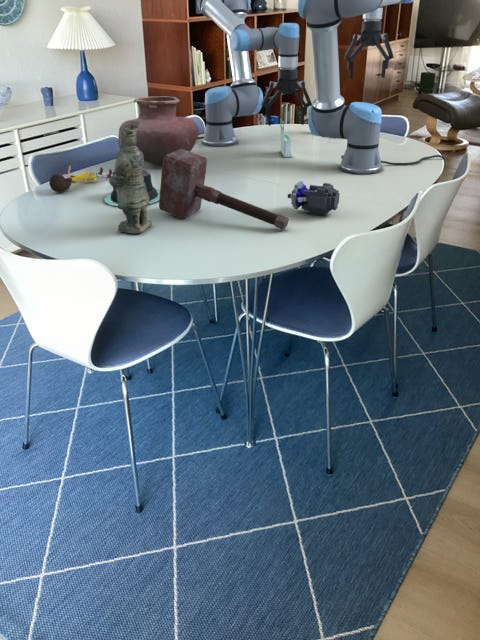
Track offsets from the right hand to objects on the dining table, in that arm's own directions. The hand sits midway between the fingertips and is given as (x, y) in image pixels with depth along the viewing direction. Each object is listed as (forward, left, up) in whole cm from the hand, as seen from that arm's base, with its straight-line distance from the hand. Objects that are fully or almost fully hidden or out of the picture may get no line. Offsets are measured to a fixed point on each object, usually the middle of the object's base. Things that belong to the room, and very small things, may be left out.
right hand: (366, 78), depth 231 cm
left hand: (+34, +15, -15) cm, 40 cm away
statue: (+82, +100, -27) cm, 132 cm away
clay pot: (+84, +28, -27) cm, 93 cm away
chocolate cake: (+87, +70, -27) cm, 116 cm away
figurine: (+109, +56, -27) cm, 126 cm away
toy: (+29, +88, -27) cm, 96 cm away
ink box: (+34, +15, -27) cm, 46 cm away
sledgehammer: (+56, +94, -27) cm, 112 cm away
